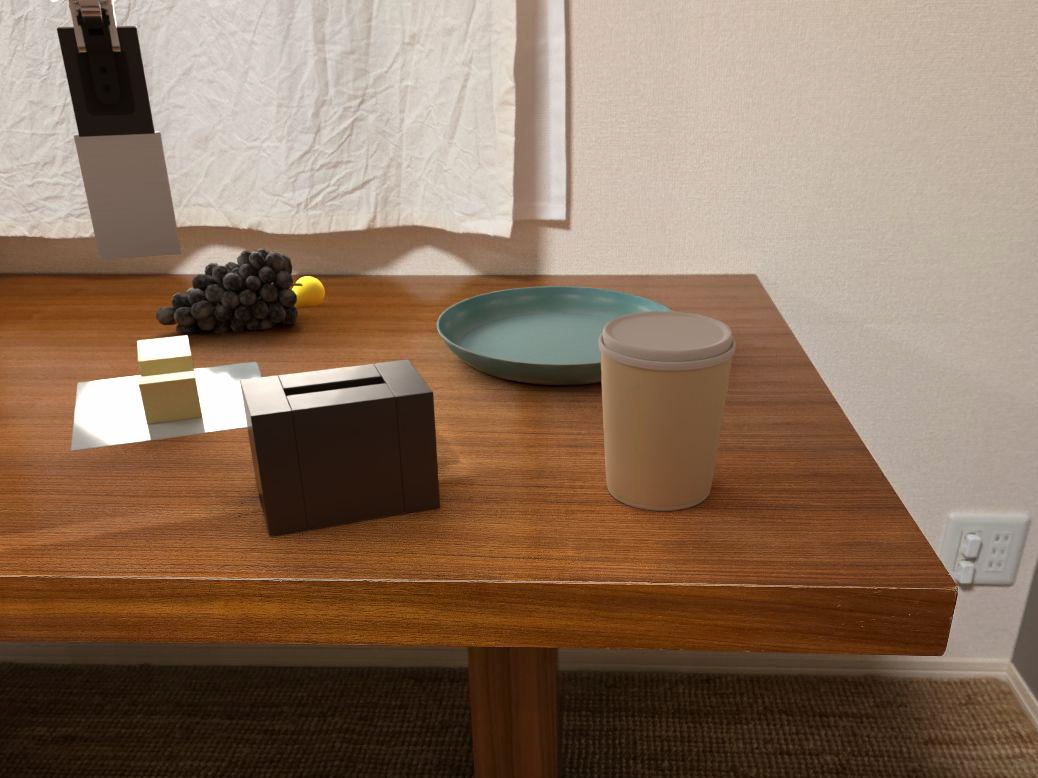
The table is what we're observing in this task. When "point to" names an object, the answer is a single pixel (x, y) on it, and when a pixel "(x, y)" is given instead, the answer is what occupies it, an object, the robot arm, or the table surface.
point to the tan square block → (170, 397)
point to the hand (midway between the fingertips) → (112, 110)
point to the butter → (164, 356)
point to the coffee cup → (663, 406)
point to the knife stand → (342, 445)
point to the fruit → (236, 296)
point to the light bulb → (309, 292)
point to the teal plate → (537, 331)
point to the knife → (122, 163)
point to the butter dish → (121, 419)
